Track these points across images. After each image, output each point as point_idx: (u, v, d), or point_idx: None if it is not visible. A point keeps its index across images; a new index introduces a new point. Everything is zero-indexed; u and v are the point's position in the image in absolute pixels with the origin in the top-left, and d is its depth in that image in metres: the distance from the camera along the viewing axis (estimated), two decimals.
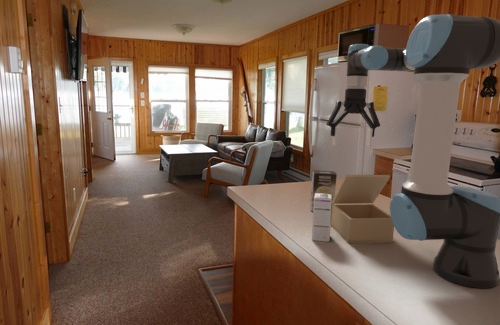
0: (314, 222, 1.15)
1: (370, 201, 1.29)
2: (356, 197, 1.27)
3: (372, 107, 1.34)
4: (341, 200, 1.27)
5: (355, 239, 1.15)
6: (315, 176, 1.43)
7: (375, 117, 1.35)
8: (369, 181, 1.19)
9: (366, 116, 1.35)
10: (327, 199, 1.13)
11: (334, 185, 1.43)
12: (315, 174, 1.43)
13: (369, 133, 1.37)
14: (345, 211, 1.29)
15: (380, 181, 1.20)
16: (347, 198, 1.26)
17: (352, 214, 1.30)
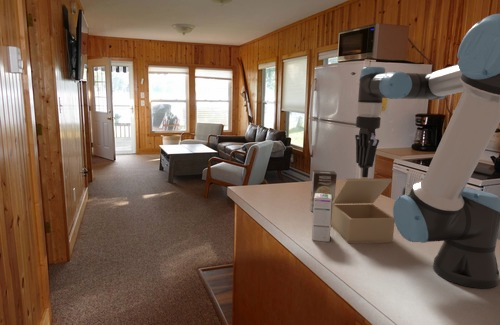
0: (314, 222, 1.15)
1: (370, 201, 1.29)
2: (356, 198, 1.26)
3: (369, 144, 1.14)
4: (341, 201, 1.27)
5: (355, 239, 1.15)
6: (315, 176, 1.43)
7: (366, 155, 1.16)
8: (370, 184, 1.19)
9: (363, 150, 1.18)
10: (327, 199, 1.13)
11: (334, 185, 1.43)
12: (315, 174, 1.43)
13: None
14: (345, 211, 1.29)
15: (381, 184, 1.19)
16: (347, 199, 1.26)
17: (352, 214, 1.30)
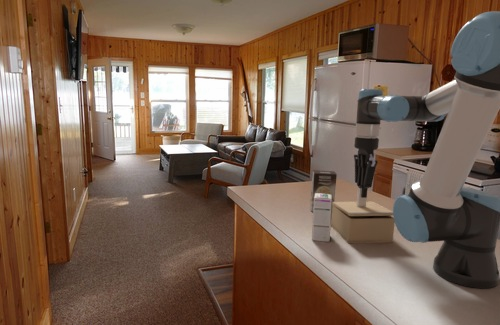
0: (314, 222, 1.15)
1: None
2: None
3: (368, 165, 1.15)
4: None
5: (355, 239, 1.15)
6: (315, 176, 1.43)
7: (365, 176, 1.17)
8: None
9: (362, 171, 1.19)
10: (327, 199, 1.13)
11: (334, 185, 1.43)
12: (315, 174, 1.43)
13: None
14: None
15: None
16: None
17: None
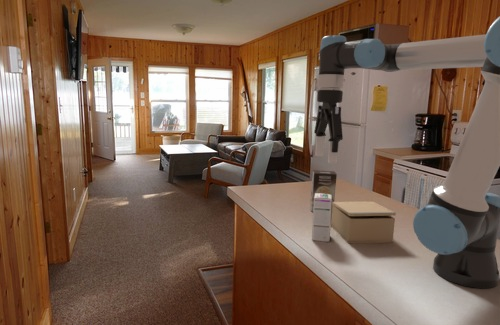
0: (314, 222, 1.15)
1: None
2: None
3: (332, 113, 1.05)
4: None
5: (355, 239, 1.15)
6: (315, 176, 1.43)
7: (332, 127, 1.04)
8: None
9: (328, 124, 1.08)
10: (327, 199, 1.13)
11: (334, 185, 1.43)
12: (315, 174, 1.43)
13: None
14: None
15: None
16: None
17: None
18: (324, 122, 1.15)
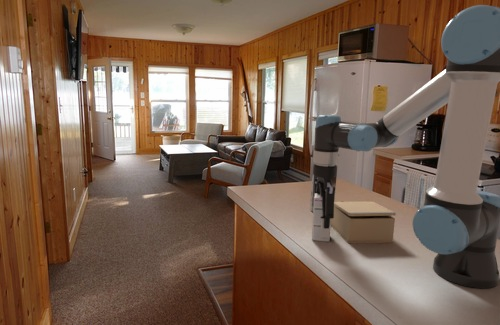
0: (314, 222, 1.15)
1: None
2: None
3: (326, 193, 1.10)
4: None
5: (355, 239, 1.15)
6: (315, 176, 1.43)
7: (325, 205, 1.10)
8: None
9: (322, 200, 1.13)
10: None
11: (334, 185, 1.43)
12: None
13: None
14: None
15: None
16: None
17: None
18: None
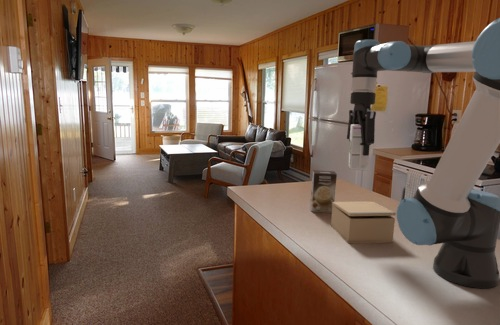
0: (352, 151, 1.15)
1: None
2: None
3: (366, 118, 1.09)
4: None
5: (355, 239, 1.15)
6: (315, 176, 1.43)
7: (366, 131, 1.10)
8: None
9: (361, 127, 1.13)
10: None
11: (334, 185, 1.43)
12: (315, 174, 1.43)
13: None
14: None
15: None
16: None
17: None
18: None
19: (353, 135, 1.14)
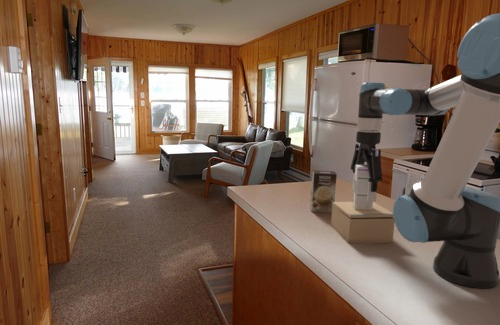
0: (357, 191, 1.19)
1: None
2: None
3: (372, 156, 1.12)
4: None
5: (355, 239, 1.15)
6: (315, 176, 1.43)
7: (372, 168, 1.12)
8: None
9: (368, 165, 1.15)
10: None
11: (334, 185, 1.43)
12: (315, 174, 1.43)
13: None
14: None
15: None
16: None
17: None
18: (361, 160, 1.22)
19: (358, 176, 1.18)
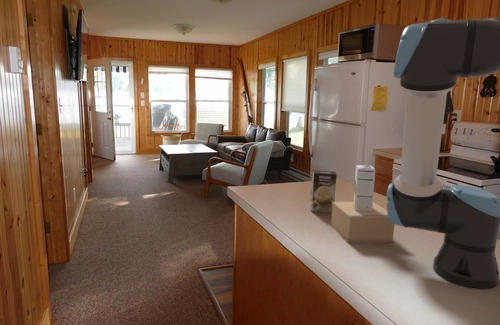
0: (357, 192, 1.18)
1: None
2: None
3: None
4: None
5: (355, 239, 1.15)
6: (315, 176, 1.43)
7: None
8: None
9: None
10: (371, 169, 1.16)
11: (334, 185, 1.43)
12: (315, 174, 1.43)
13: None
14: None
15: None
16: None
17: None
18: None
19: (358, 177, 1.18)
